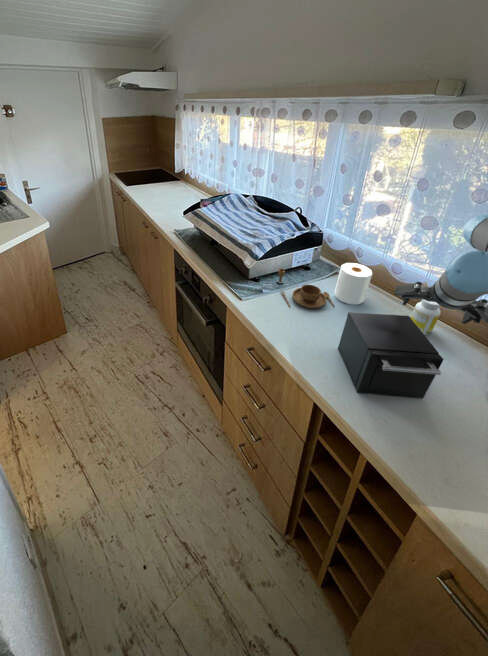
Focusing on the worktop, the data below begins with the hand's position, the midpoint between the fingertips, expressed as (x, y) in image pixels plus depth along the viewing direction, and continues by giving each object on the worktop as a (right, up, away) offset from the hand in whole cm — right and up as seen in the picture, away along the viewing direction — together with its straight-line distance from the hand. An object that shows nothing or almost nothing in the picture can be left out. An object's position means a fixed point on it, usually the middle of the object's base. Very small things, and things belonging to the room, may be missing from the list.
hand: (433, 309), depth 86 cm
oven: (-16, -17, 0) cm, 24 cm away
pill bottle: (+7, -9, +14) cm, 18 cm away
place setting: (-24, 0, +32) cm, 40 cm away
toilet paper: (-8, -1, +31) cm, 32 cm away
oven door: (-18, -21, -8) cm, 29 cm away
